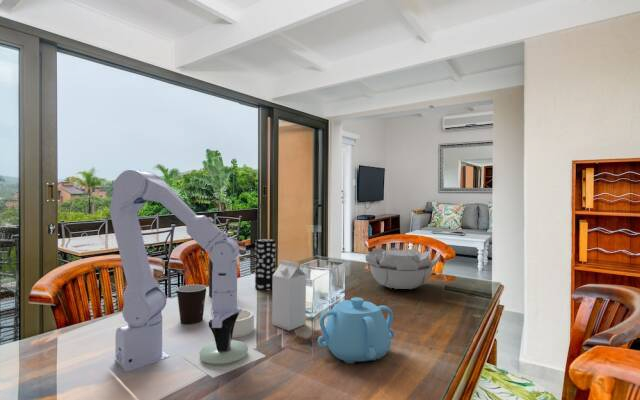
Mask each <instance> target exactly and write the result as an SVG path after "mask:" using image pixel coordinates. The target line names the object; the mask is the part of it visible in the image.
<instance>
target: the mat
mask: <svg viewBox="0 0 640 400" xmlns="http://www.w3.org/2000/svg"><path fill="white" fill-rule="evenodd" d="M231 340H235V339H234V338H232V339H231ZM265 357H267V355H265V354H263V353H262V352H259V351H258V350H256V349H254V348H251V346H248V353H247V355H246V356H245V357H243V358H242V359H240V360H237V361H235V362H231V363H226V364H211V363H207V362H204V361H202V360H201V359H200V350H198V351H197V350H196V351H193V352H192V353H188V354H185V355H183V356H182V358H183V359H184V360H185V361H188V362H189V363H190V364H192V365H193V366H194V367H196V368H198V369H199V370H201V371H202V372H204V374H206V375H208V377H211V378H212V379H215V378H218V377H219V376H222V375H224V374H227V373H230V372H232V371H234V370H237V369H239V368H242V367H244V366H246V365H248V364H252V363H254V362H256V361H258V360H261V359H263V358H265Z"/></svg>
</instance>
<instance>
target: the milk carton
mask: <svg viewBox="0 0 640 400" xmlns="http://www.w3.org/2000/svg"><path fill="white" fill-rule="evenodd" d="M306 276H307V274H306V273H305V272H304V271H303V270H302V269H301V268H300V267H299V262H293V261H288V260H287V261H286V260H284V259H283V260H282V259H281V260H280V264H279V265H278V267H277V268H276V269H275V272H274V274H273V281H272V290H271V291H272V293H271V294H272V303H271V305H272V307H271V309H272V313H271V317H272V319H271V320H272V323H271V324H272V326H274V327H275V328H276V327H277V328H280V329H283V330H286V331H289V332H290V331H292V330H294V329H297V328H300V327H301V326H303V325H306V316H307V315H306V313H307V312H306V310H307V309H306V307H307V306H306V298H307V297H306V296H307V294H306V293H307V291H306V288H307V287H306V286H307V285H306V284H307V277H306Z"/></svg>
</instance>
